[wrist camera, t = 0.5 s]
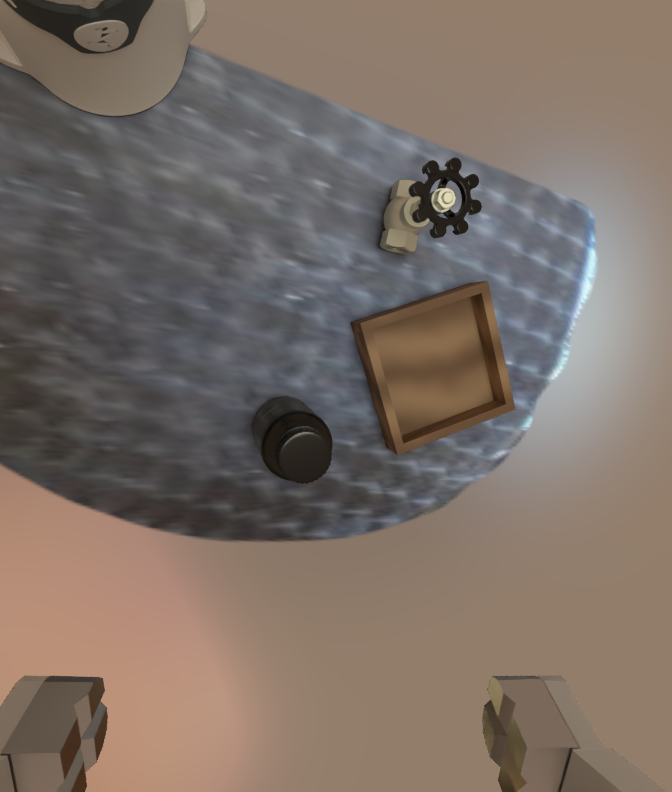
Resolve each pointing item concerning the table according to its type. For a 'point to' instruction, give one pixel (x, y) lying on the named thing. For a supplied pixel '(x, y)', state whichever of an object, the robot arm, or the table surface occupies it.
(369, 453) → the table surface
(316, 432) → the supplement bottle
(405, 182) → the valve
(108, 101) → the robot arm
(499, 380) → the walnut tray
